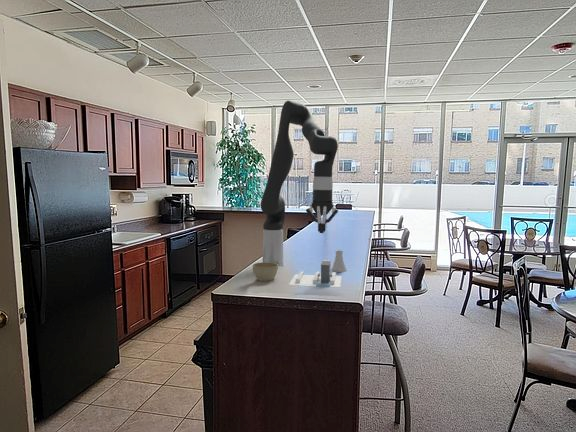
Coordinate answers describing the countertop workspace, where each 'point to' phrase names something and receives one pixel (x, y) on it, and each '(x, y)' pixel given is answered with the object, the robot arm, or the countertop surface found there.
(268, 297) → the countertop surface
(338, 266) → the flask
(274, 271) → the flower pot
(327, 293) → the countertop surface
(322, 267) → the grey rectangular block
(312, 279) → the board
